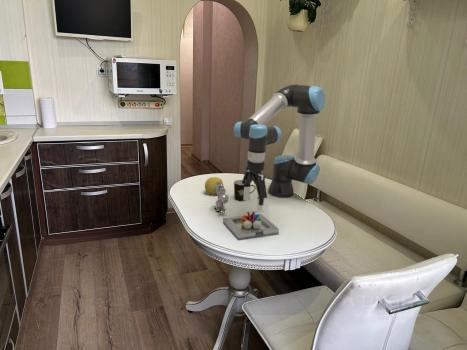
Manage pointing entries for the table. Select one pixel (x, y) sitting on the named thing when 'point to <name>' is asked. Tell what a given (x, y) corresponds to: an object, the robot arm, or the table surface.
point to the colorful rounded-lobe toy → (251, 220)
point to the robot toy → (221, 197)
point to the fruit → (212, 185)
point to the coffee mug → (239, 190)
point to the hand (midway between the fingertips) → (252, 205)
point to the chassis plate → (244, 233)
